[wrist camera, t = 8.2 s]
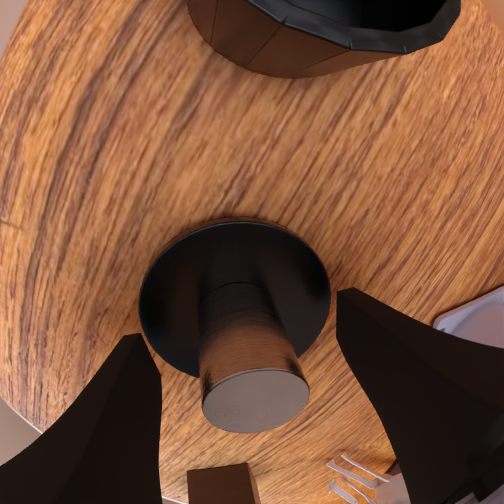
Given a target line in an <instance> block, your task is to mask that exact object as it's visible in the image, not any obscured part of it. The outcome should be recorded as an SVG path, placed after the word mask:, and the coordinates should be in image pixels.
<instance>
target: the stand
mask: <svg viewBox="0 0 504 504" xmlns="http://www.w3.org/2000/svg"><path fill="white" fill-rule="evenodd" d="M187 484H188V498H189V504H261V502H260V498H259V493H258V489H257V484H256V481H255V479H254V477H253V475H252V472H251V470H250V468H249V466H248V464H247V463H245V464H239V465H233V466H227V467H220V468H212V469H204V470H194V471H187Z"/></svg>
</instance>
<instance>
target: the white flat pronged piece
mask: <svg viewBox="0 0 504 504" xmlns="http://www.w3.org/2000/svg"><path fill="white" fill-rule="evenodd" d="M341 457H342V458H343V459H345V460H346V461H348V462H350V463H351V464H353V465H355V466H357V467H359V468H361V469H362V470H364V471H366V472H368V473H370V474H372V475H374V476H375V477H377V478H376V479H375V480H374V481H373V480H370V479H367V478H364V477H361V476H359V475H357V474H355V473H352V472H350V471H348V470H346V469H344V468H342V467H340V466H338V465H336V464H335V461H334V459H333V460H331V461H330V462H329V463H328V464H326V466H328V467H330V468H332V469H333V470H335V471H337V472H339V473H341V474H340V477H341V480H342V481H343V480H344V482H345V484H346V485H347V484H348V485H350V486H351V487H352V488H354V489H355V490H356V491H357V492H359V493H360V494H361V495H363V496H364V497H365V498H366V499H367V501H368V502H369V504H411V503H410V499H409V495H408V492H407V488H406V485H405V482H404V479H403V476H402V475H401V476H392V475H389V474H383V475H381V474H379V473H377V472H374V471H372V470H370V469H368V468H366V467H365V466H363V465H361V464H359V463H357V462H356V461H354V460H352V459H350V458H349V457H348V456H347V453H346V452H344V453H343V454H342V455H341ZM342 474H343V475H344V476H343V475H342ZM345 476H347V477H349V478H351V479H353V480H355V481H357V482H359V483H361V484H362V485H364V486H366V487H368V488H369V489H373V490H375V494H376V500H377V502H378V503H376V502H375V501H373V500H372V499H371V498H370V497H369V496H368V495H365V494H364V493H363V492H362V491H361V490H360V489H358V488H357V487H356V486H354V485H353V484H352V483H351V482H349V481H348V480H347V479H346V477H345ZM338 480H339V479H337V480H336V482H335V481H334V478H333V479H332V480H331V482H330V484H329V485H328V487H327V489H330V492H329V494H330V493H331V492H332V490H333V491H334V492H336V493H337V494H338V495H340V496H341V497H342V498H344V499H345V500H346V501H348V502H349V503H350V504H359V503H357V502H358V501H357V500H356V499H355V498H354V497H353V496H351V495H350V494H349V493H347V492H346V491H345V490H344V489H342V488H341V487H340V486H338V485H337V484H336V483H337V481H338Z"/></svg>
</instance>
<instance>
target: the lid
mask: <svg viewBox="0 0 504 504" xmlns="http://www.w3.org/2000/svg"><path fill="white" fill-rule="evenodd" d="M330 302H331V289H330V282H329V278H328V274H327V271H326V269H325V267H324V265H323V263H322V261H321V260H320V258H319V257H318V255H317V254H316V252H315V251H314V250H313V249H312V248H311V247H310V246H309V244H308V243H307V242H306V241H305V240H303V239H302V238H301V237H300V236H299V235H297V234H296V233H294V232H293V231H291V230H289V229H288V228H286V227H284V226H281V225H279V224H277V223H274V222H271V221H267V220H263V219H259V218H250V217H228V218H221V219H215V220H212V221H208V222H204V223H201V224H199V225H197V226H194V227H192V228H190V229H188V230H186V231H184V232H183V233H181V234H179V235H178V236H176V237H175V238H174V239H172V240H171V241H170V242H169V243H167V244H166V245H165V246H164V247H163V248H162V249H161V250H160V252H159V253H158V254H157V255H156V256H155V258H154V259H153V261H152V262H151V264H150V265H149V267H148V269H147V271H146V273H145V276H144V279H143V282H142V286H141V289H140V294H139V301H138V311H139V318H140V323H141V326H142V329H143V332H144V334H145V336H146V338H147V340H148V342H149V343H150V345H151V346H152V348H153V349H154V350H155V351H156V353H157V354H158V355H159V356H160V357H161V358H162V359H164V360H165V361H166V362H167V363H169V364H170V365H171V366H173V367H175V368H176V369H178V370H180V371H182V372H184V373H186V374H188V375H191V376H194V377H197V378H200V389H201V405H202V411H203V414H204V416H205V417H206V419H207V420H208V421H209V422H210V423H211V424H213V425H214V426H216V427H218V428H220V429H222V430H225V431H229V432H235V433H256V432H262V431H267V430H271V429H274V428H276V427H279V426H281V425H283V424H285V423H287V422H289V421H290V420H292V419H293V418H295V417H296V416H297V415H298V414H299V413H300V412H301V411H302V410H303V409H304V407H305V406H306V404H307V402H308V400H309V395H310V389H309V385H308V383H307V380H306V378H305V376H304V373H303V371H302V368H301V366H300V363H299V361H298V358H299V357H300V356H301V355H302V354H303V353H305V352H306V351H307V350H308V349H309V347H310V346H311V345H312V344H313V343H314V342H315V340H316V339H317V337H318V336H319V334H320V333H321V331H322V329H323V327H324V325H325V322H326V320H327V317H328V314H329V309H330Z"/></svg>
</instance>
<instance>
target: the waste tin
mask: <svg viewBox="0 0 504 504" xmlns="http://www.w3.org/2000/svg"><path fill="white" fill-rule="evenodd" d="M187 5H188V11H189V15H190V17H191V19H192V21H193V23H194V25H195V27H196V28H197V30H198V31H199V33H200V34H201V36H202V37H203V38H204V39H205V40H206V42H207V43H208V44H209V45H210V46H212V47H213V48H214V49H215V50H216V51H217V52H218V53H220V54H221V55H223V56H224V57H225V58H227V59H228V60H230V61H232V62H234V63H235V64H237V65H239V66H241V67H244V68H246V69H248V70H251V71H254V72H257V73H260V74H264V75H269V76H273V77H281V78H306V77H314V76H323V75H327V74H330V73H334V72H337V71H340V70H344V69H348V68H351V67H355V66H359V65H363V64H367V63H371V62H375V61H379V60H383V59H388V58H393V57H397V56H402V55H407V54H410V53H412V52H415V51H417V50H420V49H423V48H425V47H428V46H431V45H433V44H436V43H439V42H441V41H442V40H443V39H444V38H445V36H446V35H447V33H448V32H449V30H450V29H451V27H452V26H453V24H454V23H455V21H456V20H457V18H458V17H459V15H460V14H459V13H460V11H461V0H187Z"/></svg>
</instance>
